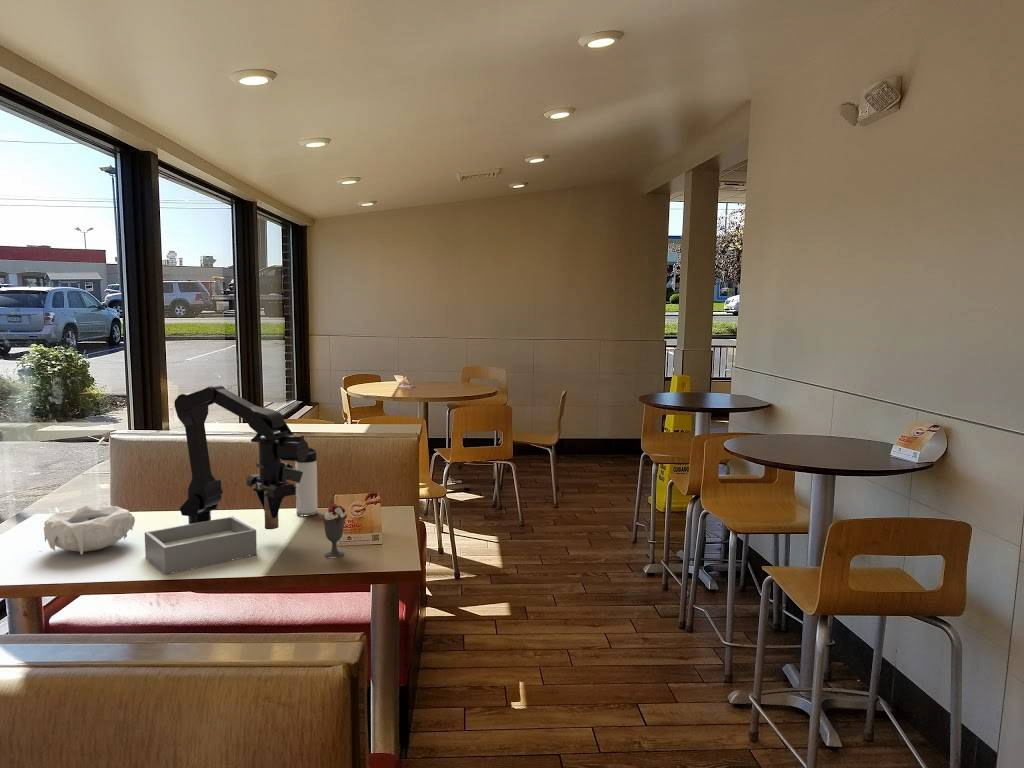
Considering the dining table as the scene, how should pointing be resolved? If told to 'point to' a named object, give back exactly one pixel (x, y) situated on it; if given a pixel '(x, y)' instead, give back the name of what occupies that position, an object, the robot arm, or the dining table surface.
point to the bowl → (88, 528)
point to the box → (199, 544)
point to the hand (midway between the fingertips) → (271, 516)
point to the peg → (269, 516)
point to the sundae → (334, 527)
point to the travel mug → (307, 485)
